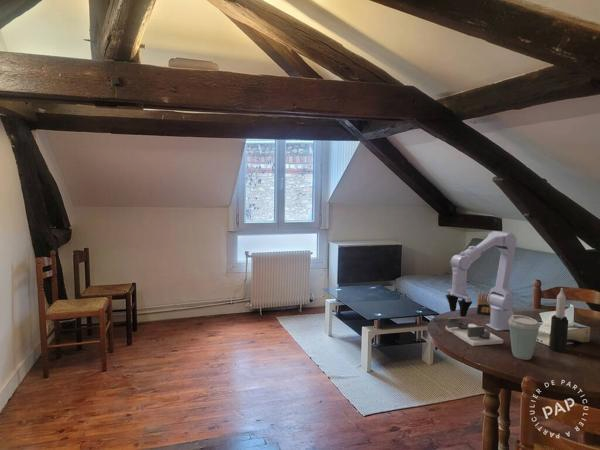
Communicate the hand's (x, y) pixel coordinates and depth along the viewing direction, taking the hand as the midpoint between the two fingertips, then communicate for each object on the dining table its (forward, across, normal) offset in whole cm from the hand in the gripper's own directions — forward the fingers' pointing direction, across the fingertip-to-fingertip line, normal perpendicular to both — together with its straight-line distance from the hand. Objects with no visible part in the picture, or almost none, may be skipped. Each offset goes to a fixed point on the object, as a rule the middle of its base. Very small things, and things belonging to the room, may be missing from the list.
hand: (457, 313), depth 179 cm
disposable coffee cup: (+10, +26, +11) cm, 30 cm away
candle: (+10, +22, +30) cm, 39 cm away
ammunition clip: (+10, -22, +32) cm, 40 cm away
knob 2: (+8, +9, +4) cm, 12 cm away
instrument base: (+9, +3, +6) cm, 11 cm away
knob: (+8, -3, +2) cm, 9 cm away
